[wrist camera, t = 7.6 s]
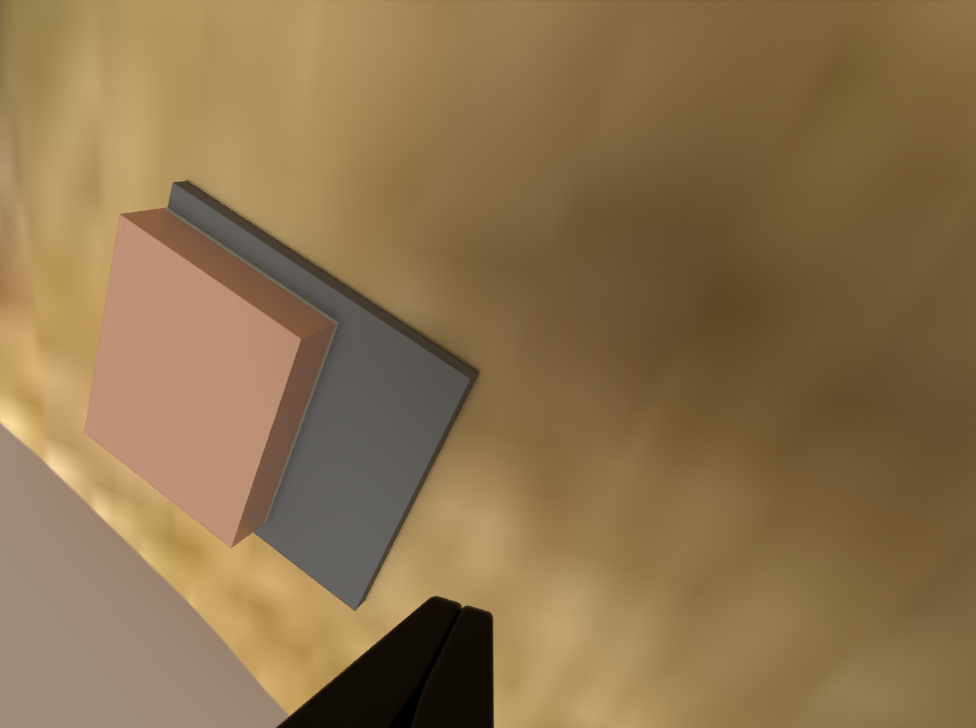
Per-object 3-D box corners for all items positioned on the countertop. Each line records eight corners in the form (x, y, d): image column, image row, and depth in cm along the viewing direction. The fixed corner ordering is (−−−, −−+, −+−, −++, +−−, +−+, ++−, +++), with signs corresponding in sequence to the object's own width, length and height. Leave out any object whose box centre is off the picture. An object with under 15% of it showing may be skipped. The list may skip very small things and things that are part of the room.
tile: (301, 338, 22) (119, 214, 23) (230, 548, 26) (84, 432, 28) (338, 322, 23) (167, 207, 25) (266, 521, 28) (126, 414, 30)
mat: (478, 373, 22) (470, 379, 22) (363, 602, 28) (354, 611, 27) (186, 181, 25) (172, 182, 24) (135, 426, 31) (123, 431, 30)
